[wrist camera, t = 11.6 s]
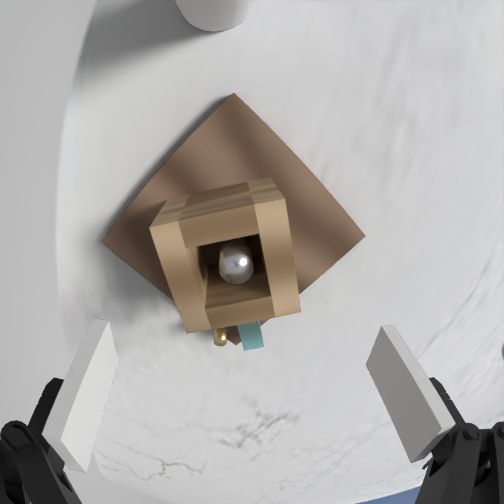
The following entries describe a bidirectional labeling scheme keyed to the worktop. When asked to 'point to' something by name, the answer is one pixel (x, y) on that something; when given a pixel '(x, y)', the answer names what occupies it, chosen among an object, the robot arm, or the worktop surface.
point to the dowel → (220, 336)
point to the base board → (229, 173)
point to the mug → (215, 13)
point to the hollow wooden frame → (208, 277)
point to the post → (235, 260)
